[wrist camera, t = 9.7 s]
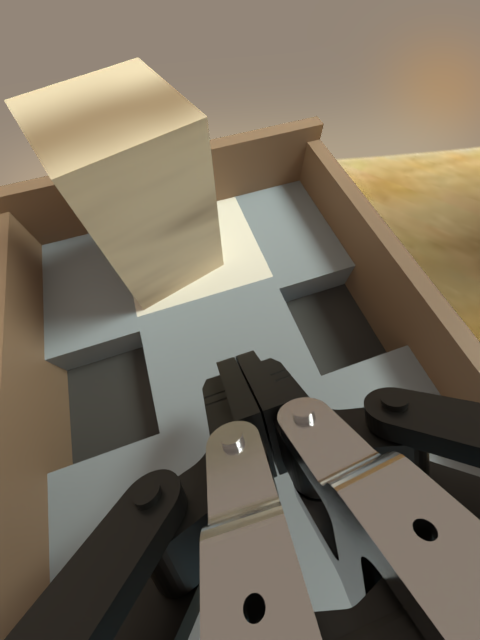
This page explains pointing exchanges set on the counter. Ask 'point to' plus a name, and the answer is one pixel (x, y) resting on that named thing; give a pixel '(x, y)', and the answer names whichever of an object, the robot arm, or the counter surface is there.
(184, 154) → the birch block
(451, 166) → the counter surface
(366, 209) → the tray
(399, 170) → the counter surface
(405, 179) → the counter surface
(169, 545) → the robot arm
